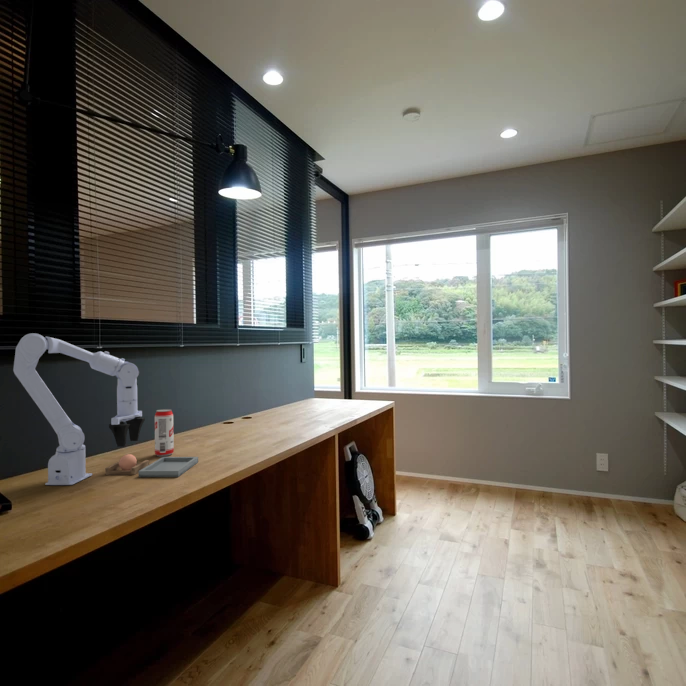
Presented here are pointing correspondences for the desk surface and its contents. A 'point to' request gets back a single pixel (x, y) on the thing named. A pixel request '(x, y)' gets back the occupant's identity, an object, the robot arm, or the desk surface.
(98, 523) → the desk surface
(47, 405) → the robot arm
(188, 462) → the tray
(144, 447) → the desk surface
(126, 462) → the ball
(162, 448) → the beer can
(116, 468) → the frame
